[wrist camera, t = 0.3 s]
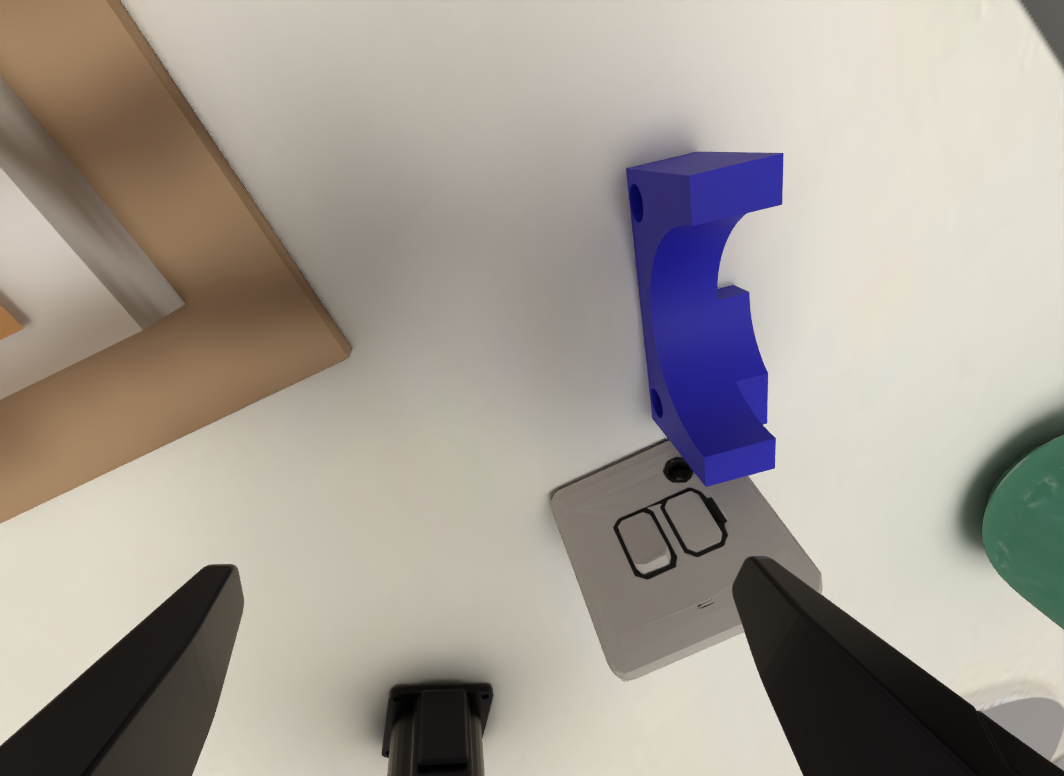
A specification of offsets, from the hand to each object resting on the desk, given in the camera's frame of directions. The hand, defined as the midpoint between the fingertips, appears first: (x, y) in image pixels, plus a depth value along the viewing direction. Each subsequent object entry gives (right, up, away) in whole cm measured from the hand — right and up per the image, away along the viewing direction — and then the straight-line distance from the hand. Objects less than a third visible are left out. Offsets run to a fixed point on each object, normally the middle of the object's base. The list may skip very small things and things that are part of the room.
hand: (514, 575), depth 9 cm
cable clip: (+7, +8, +14) cm, 18 cm away
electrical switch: (+6, -2, +19) cm, 20 cm away
